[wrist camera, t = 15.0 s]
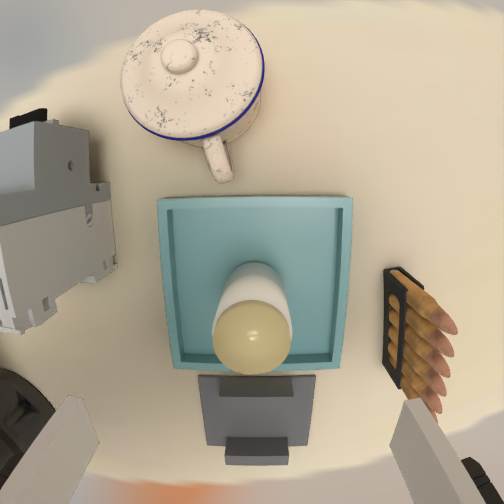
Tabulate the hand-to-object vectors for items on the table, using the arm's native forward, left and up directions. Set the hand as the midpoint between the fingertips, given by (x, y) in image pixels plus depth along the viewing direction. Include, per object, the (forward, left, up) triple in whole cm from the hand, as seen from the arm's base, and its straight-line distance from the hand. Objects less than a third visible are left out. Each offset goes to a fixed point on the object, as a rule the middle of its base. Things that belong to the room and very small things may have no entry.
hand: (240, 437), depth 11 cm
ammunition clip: (+14, -4, -19) cm, 24 cm away
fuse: (0, 0, -18) cm, 18 cm away
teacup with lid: (-3, +15, -19) cm, 24 cm away
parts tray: (0, 0, -19) cm, 19 cm away
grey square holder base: (0, -15, -19) cm, 24 cm away
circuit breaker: (-17, +9, -19) cm, 26 cm away
